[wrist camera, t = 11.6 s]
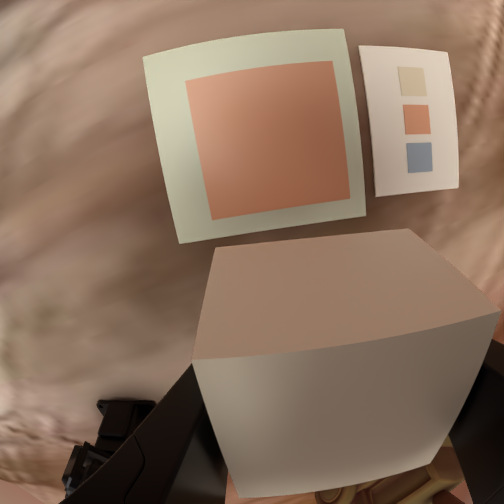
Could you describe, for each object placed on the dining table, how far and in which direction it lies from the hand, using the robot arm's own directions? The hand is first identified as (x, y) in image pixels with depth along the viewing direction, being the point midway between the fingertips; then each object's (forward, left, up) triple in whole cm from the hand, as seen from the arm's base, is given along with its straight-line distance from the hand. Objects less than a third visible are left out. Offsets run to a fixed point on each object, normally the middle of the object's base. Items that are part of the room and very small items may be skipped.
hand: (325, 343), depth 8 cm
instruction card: (+5, -10, -14) cm, 18 cm away
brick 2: (0, 0, -1) cm, 1 cm away
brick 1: (+5, 0, -9) cm, 10 cm away
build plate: (+5, 0, -14) cm, 14 cm away
